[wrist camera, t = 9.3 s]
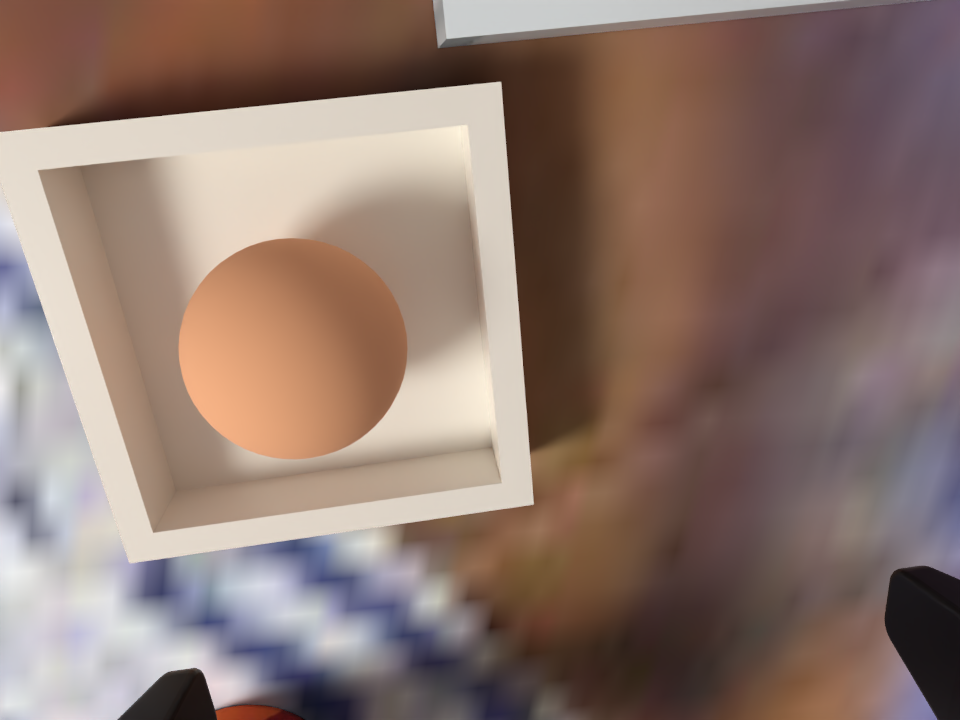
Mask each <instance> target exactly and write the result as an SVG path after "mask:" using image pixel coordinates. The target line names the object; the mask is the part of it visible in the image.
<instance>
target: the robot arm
mask: <svg viewBox="0 0 960 720" xmlns="http://www.w3.org/2000/svg"><path fill="white" fill-rule="evenodd" d="M885 626H886V630H887V633H888V636H889V638H890V640H891V641H892V643H893V645H894V647H895V648H896V650H897V652H898V653H899V655H900V657H901V658H902V660H903V662H904V663H905V665H906V667H907V668H908V670H909V672H910V674H911V675H912V677H913V679H914V680H915V682H916V684H917V685H918V687H919V689H920V690H921V692H922V694H923V695H924V697H925V699H926V701H927V702H928V704H929V706H930V707H931V709H932V711H933V712H934V714H935V716H936V717H937V719H938V720H960V580H959V579H957V578H955V577H952V576H950V575H948V574H945V573H943V572H941V571H938V570H936V569H934V568H931V567H928V566H916V567H908V568H901V569H898V570H896V571H894V572H893V574H892V575H891V578H890V583H889V590H888V597H887V604H886V611H885ZM118 720H217V715H216V712H215V709H214V705H213V702H212V699H211V696H210V692H209V689H208V686H207V683H206V679H205V677H204V674H203V673H202V671H201V670H199V669H197V668H191V669H184V670H177V671H171V672H168V673H166V674H164V675H163V676H162V677H160V678H159V679H158V680H157V681H156V682H155V683H154V684H153V685H152V686H151V687H150V688H149V689H148V690H147V691H146V692H145V693H144V694H143V695H142V696H141V697H140V698H139V699H138V700H137V701H136V702H135V703H134V704H133V705H132V706H131V707H130V708H129V709H128V710H127V711H126V712H125V713H124V714H123V715H122V716H121V717H120V718H119V719H118Z"/></svg>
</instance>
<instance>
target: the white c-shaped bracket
mask: <svg viewBox="0 0 960 720" xmlns="http://www.w3.org/2000/svg"><path fill="white" fill-rule="evenodd" d="M921 1H931V0H433V6H434V15H435V24H436V34H437V43H438V48H446V47H456V46H466V45H477V44H487V43H497V42H508V41H518V40H528V39H539V38H549V37H559V36H570V35H580V34H590V33H601V32H611V31H621V30H632V29H642V28H652V27H663V26H673V25H683V24H694V23H704V22H714V21H725V20H735V19H745V18H756V17H766V16H776V15H787V14H797V13H807V12H818V11H828V10H838V9H849V8H859V7H869V6H880V5H890V4H900V3H911V2H921Z"/></svg>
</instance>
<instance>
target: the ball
mask: <svg viewBox="0 0 960 720" xmlns="http://www.w3.org/2000/svg"><path fill="white" fill-rule="evenodd" d="M178 349H179V362H180V367H181V372H182V377H183V380H184V383H185V386H186V389H187V392H188V394H189V395H190V397H191V399H192V401H193V403H194V405H195V406H196V408H197V409H198V411H199V412H200V413H201V415H202V416H203V417H204V418H205V419H206V420H207V422H208V423H209V424H210V425H211V426H212V427H213V428H214V429H215V430H217V431H218V432H219V433H220V434H221V435H222V436H224V437H225V438H227V439H228V440H230V441H231V442H233V443H234V444H236V445H238V446H240V447H242V448H244V449H246V450H249V451H251V452H254V453H257V454H260V455H264V456H268V457H272V458H280V459H307V458H313V457H318V456H323V455H326V454H330V453H333V452H336V451H338V450H341V449H343V448H345V447H347V446H349V445H351V444H352V443H354V442H356V441H357V440H359V439H360V438H362V437H363V436H364V435H365V434H367V433H368V432H369V431H370V430H371V429H372V428H374V427H375V426H376V425H377V423H378V422H379V421H380V420H381V419H382V418H383V417H384V416H385V414H386V413H387V411H388V410H389V409H390V407H391V405H392V404H393V402H394V400H395V398H396V396H397V394H398V392H399V390H400V387H401V384H402V381H403V379H404V374H405V369H406V363H407V349H408V347H407V334H406V329H405V325H404V320H403V317H402V315H401V312H400V309H399V306H398V304H397V302H396V300H395V298H394V296H393V294H392V292H391V291H390V290H389V288H388V287H387V285H386V284H385V282H384V281H383V280H382V279H381V278H380V277H379V276H378V275H377V273H376V272H375V271H374V270H373V269H371V268H370V267H369V266H368V265H367V264H365V263H364V262H363V261H362V260H360V259H359V258H357V257H355V256H354V255H352V254H351V253H349V252H347V251H345V250H343V249H341V248H339V247H336V246H333V245H330V244H327V243H324V242H320V241H315V240H310V239H299V238H285V239H274V240H269V241H264V242H260V243H257V244H254V245H251V246H248V247H246V248H244V249H242V250H240V251H238V252H236V253H234V254H233V255H231V256H230V257H228V258H227V259H225V260H224V261H222V262H221V263H219V264H218V265H217V266H216V267H215V268H214V269H213V270H212V271H211V272H209V274H208V275H207V276H206V277H205V278H204V280H203V281H202V282H201V283H200V284H199V286H198V288H197V289H196V291H195V292H194V294H193V296H192V297H191V299H190V301H189V303H188V306H187V308H186V310H185V313H184V316H183V320H182V324H181V328H180V335H179V345H178Z"/></svg>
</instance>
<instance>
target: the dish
mask: <svg viewBox="0 0 960 720" xmlns="http://www.w3.org/2000/svg"><path fill="white" fill-rule="evenodd" d="M0 183H1V186H2V189H3V192H4V195H5V198H6V201H7V204H8V207H9V210H10V213H11V216H12V219H13V222H14V225H15V227H16V230H17V233H18V236H19V239H20V242H21V245H22V248H23V251H24V254H25V257H26V260H27V263H28V266H29V269H30V272H31V275H32V278H33V281H34V283H35V286H36V289H37V292H38V295H39V298H40V301H41V304H42V307H43V310H44V313H45V316H46V319H47V322H48V325H49V328H50V331H51V334H52V336H53V339H54V342H55V345H56V348H57V351H58V354H59V357H60V360H61V363H62V366H63V369H64V372H65V375H66V378H67V381H68V384H69V387H70V389H71V392H72V395H73V398H74V401H75V404H76V407H77V410H78V413H79V416H80V419H81V422H82V425H83V428H84V431H85V434H86V437H87V440H88V442H89V445H90V448H91V451H92V454H93V457H94V460H95V463H96V466H97V469H98V472H99V475H100V478H101V481H102V484H103V487H104V490H105V493H106V495H107V498H108V501H109V504H110V507H111V510H112V513H113V516H114V519H115V522H116V525H117V528H118V531H119V534H120V537H121V540H122V543H123V546H124V548H125V551H126V554H127V557H128V560H129V563H136V562H143V561H149V560H156V559H163V558H170V557H177V556H184V555H191V554H197V553H204V552H211V551H218V550H225V549H232V548H239V547H245V546H252V545H259V544H266V543H273V542H280V541H287V540H293V539H300V538H307V537H314V536H321V535H328V534H335V533H341V532H348V531H355V530H362V529H369V528H376V527H383V526H389V525H396V524H403V523H410V522H417V521H424V520H431V519H437V518H444V517H451V516H458V515H465V514H472V513H479V512H485V511H492V510H499V509H506V508H513V507H520V506H527V505H533V504H534V501H533V488H532V475H531V462H530V449H529V436H528V423H527V410H526V397H525V384H524V371H523V358H522V345H521V332H520V319H519V306H518V294H517V281H516V268H515V255H514V242H513V229H512V216H511V203H510V190H509V177H508V164H507V151H506V138H505V125H504V112H503V99H502V86H501V82H493V83H483V84H473V85H463V86H453V87H443V88H433V89H423V90H414V91H404V92H394V93H384V94H374V95H364V96H354V97H344V98H334V99H324V100H314V101H304V102H295V103H285V104H275V105H265V106H255V107H245V108H235V109H225V110H215V111H205V112H195V113H186V114H176V115H166V116H156V117H146V118H136V119H126V120H116V121H106V122H96V123H86V124H77V125H67V126H57V127H47V128H37V129H27V130H17V131H7V132H0ZM285 238H299V239H310V240H315V241H320V242H324V243H327V244H330V245H333V246H336V247H339V248H341V249H343V250H345V251H347V252H349V253H351V254H352V255H354V256H355V257H357V258H359V259H360V260H362V261H363V262H364V263H365V264H367V265H368V266H369V267H370V268H371V269H373V270H374V271H375V272H376V273H377V275H378V276H379V277H380V278H381V279H382V280H383V281H384V282H385V284H386V285H387V287H388V288H389V290H390V291H391V292H392V294H393V296H394V298H395V300H396V302H397V304H398V306H399V309H400V312H401V315H402V317H403V320H404V325H405V329H406V334H407V347H408V349H407V363H406V369H405V374H404V379H403V381H402V384H401V387H400V390H399V392H398V394H397V396H396V398H395V400H394V402H393V404H392V405H391V407H390V409H389V410H388V411H387V413H386V414H385V416H384V417H383V418H382V419H381V420H380V421H379V422H378V423H377V425H376V426H375V427H374V428H372V429H371V430H370V431H369V432H368V433H367V434H365V435H364V436H363V437H362V438H360V439H359V440H357V441H356V442H354V443H352V444H351V445H349V446H347V447H345V448H343V449H341V450H338V451H336V452H333V453H330V454H326V455H323V456H318V457H313V458H307V459H280V458H272V457H268V456H264V455H260V454H257V453H254V452H251V451H249V450H246V449H244V448H242V447H240V446H238V445H236V444H234V443H233V442H231V441H230V440H228V439H227V438H225V437H224V436H222V435H221V434H220V433H219V432H218V431H217V430H215V429H214V428H213V427H212V426H211V425H210V424H209V423H208V422H207V420H206V419H205V418H204V417H203V416H202V415H201V413H200V412H199V411H198V409H197V408H196V406H195V405H194V403H193V401H192V399H191V397H190V395H189V394H188V392H187V389H186V386H185V383H184V380H183V377H182V372H181V367H180V362H179V349H178V345H179V335H180V328H181V324H182V320H183V316H184V313H185V310H186V308H187V306H188V303H189V301H190V299H191V297H192V296H193V294H194V292H195V291H196V289H197V288H198V286H199V284H200V283H201V282H202V281H203V280H204V278H205V277H206V276H207V275H208V274H209V272H211V271H212V270H213V269H214V268H215V267H216V266H217V265H218V264H219V263H221V262H222V261H224V260H225V259H227V258H228V257H230V256H231V255H233V254H234V253H236V252H238V251H240V250H242V249H244V248H246V247H248V246H251V245H254V244H257V243H260V242H264V241H269V240H274V239H285Z"/></svg>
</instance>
